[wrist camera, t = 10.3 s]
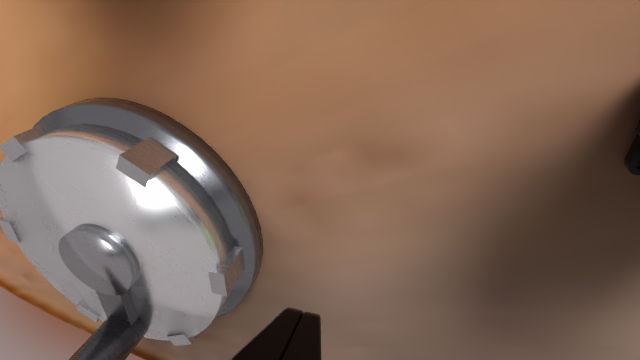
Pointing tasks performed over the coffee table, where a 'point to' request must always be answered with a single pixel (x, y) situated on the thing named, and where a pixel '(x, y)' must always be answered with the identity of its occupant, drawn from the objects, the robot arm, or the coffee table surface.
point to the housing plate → (192, 159)
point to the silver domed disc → (118, 233)
